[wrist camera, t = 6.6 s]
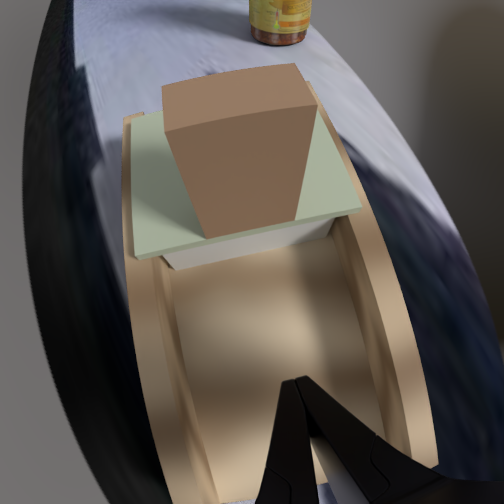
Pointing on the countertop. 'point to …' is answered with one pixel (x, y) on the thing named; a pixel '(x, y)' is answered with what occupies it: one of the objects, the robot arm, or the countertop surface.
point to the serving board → (270, 347)
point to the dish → (249, 244)
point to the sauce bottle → (279, 20)
